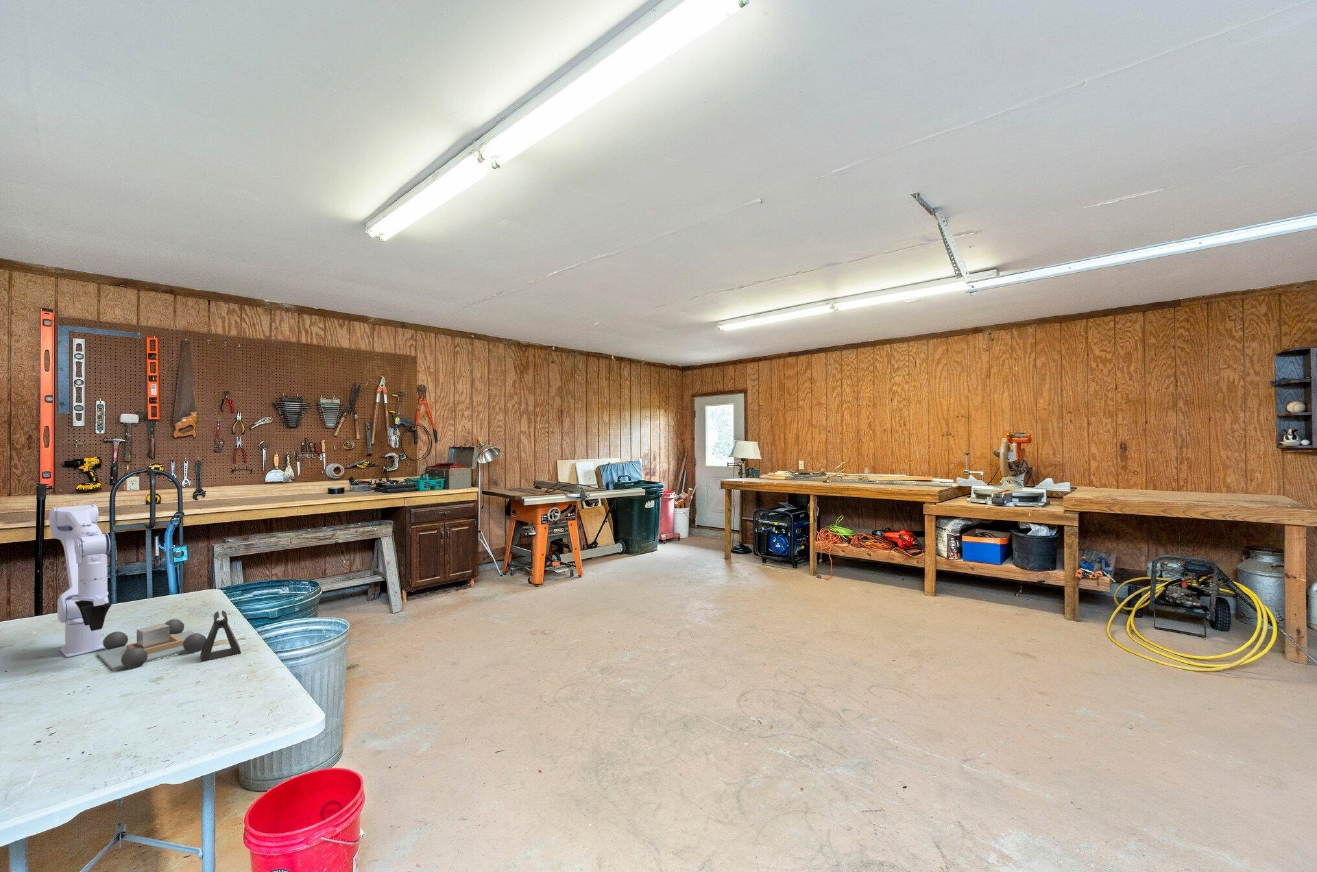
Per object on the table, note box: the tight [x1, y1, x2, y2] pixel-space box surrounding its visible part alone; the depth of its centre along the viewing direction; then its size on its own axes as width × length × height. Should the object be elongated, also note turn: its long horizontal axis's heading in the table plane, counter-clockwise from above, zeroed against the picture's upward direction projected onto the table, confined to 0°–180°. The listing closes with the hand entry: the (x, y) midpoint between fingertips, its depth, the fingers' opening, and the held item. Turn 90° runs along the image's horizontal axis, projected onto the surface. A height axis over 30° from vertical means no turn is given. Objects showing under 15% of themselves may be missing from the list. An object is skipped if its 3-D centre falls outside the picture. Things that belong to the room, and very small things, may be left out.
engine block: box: [136, 622, 170, 649], centre depth 160 cm, size 4×6×6 cm
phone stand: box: [199, 610, 242, 663], centre depth 157 cm, size 9×6×12 cm, turn 130°
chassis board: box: [96, 618, 207, 672], centre depth 160 cm, size 22×21×5 cm
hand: (93, 627), depth 153 cm, fingers open, 7 cm apart
